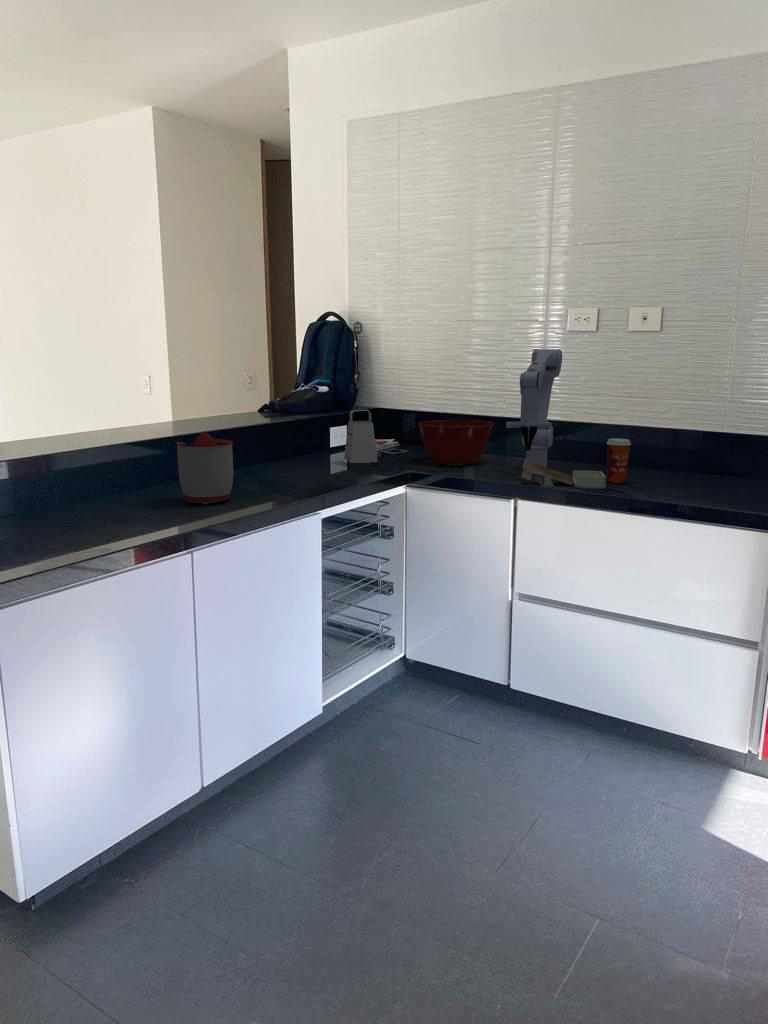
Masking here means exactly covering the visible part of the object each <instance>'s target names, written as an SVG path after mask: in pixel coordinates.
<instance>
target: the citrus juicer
mask: <svg viewBox="0 0 768 1024" xmlns="http://www.w3.org/2000/svg"><path fill="white" fill-rule="evenodd" d="M175 444H176V450H177V466H178V469H177V470H178V478H179V484H180V488H181V491H182V494H183V496H184V499H185V500H188V501H192V502H209V501H219V500H223V499H227V498H230V496H231V492H232V488H233V483H234V459H233V458H234V457H233V444H234V441H233V440H230V439H222V438H213V437H212V436H211V435H210V434H209V433H208V432H207V431H202V432H201V433H200V434H198V436H197V437H196V439H195V440H194V441H193V443H192V445H186V443H185V442H183V441H176V443H175Z"/></svg>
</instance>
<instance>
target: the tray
mask: <svg viewBox="0 0 768 1024" xmlns="http://www.w3.org/2000/svg"><path fill="white" fill-rule="evenodd" d="M593 474H598V475H599V476H592V475H593ZM571 476H572V477H571V478H572V479H574V480H573V482H572V484H573V485H574V487H575V488H576V489H593V490H595V489H597V490H598V489H602V488H603V489H602V490H606V488H607V475H605V474H604V472H603V471H602V470H572V475H571Z"/></svg>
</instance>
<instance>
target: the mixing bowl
mask: <svg viewBox="0 0 768 1024" xmlns="http://www.w3.org/2000/svg"><path fill="white" fill-rule="evenodd" d="M417 425H418V428H419V432H420V436H421V439H422V442H423V445H424V447H425V449H426V451H427V453H428V456H429V457H430V458H431V459H432V460H433V461H434V462H436V463H437V462H438V463H442V464H457V465H459V464H470V465H473V464H474V463H476V461H478V460H480V458H481V456H482V454H483V453H484V451H485V449H486V447H487V445H488V443H489V440H490V436H491V434H492V430H493V426H494V425H495V424H494V422H491V421H484V420H472V419H470V420H469V419H467V420H466V419H440V420H439V419H437V420H436V419H435V420H425V421H419V422H417ZM438 463H437V464H438ZM472 463H473V464H472ZM459 466H460V465H459Z"/></svg>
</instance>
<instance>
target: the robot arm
mask: <svg viewBox="0 0 768 1024" xmlns="http://www.w3.org/2000/svg"><path fill="white" fill-rule="evenodd" d="M562 362H563V351H562V350H561V349H560V348H558V349H539V348H538V349H537V348H535V349H533V350H532V353H531V363H530V364H529V366H528V367H527V369H526V370H525V371H523V372H522V373H520V375H519V388H520V389H519V391H520V393H519V394H520V395H521V396H520V397H521V398H520V399H521V400H520V420H519V421H506V424H505V425H506V427H505V428H506V429H519V430H520V432H521V443H522V445H523V447H524V448H525V449H524V450H525V452H526V453H525V460H527V462H530V463H533V464H536V465H539V466H542V467H545V468H548V467H547V466H548V449H549V448H550V447H552V445H553V441H554V428H553V422H549V421H548V413H549V408H550V404H551V403H550V401H551V397H552V388H553V384H554V380H555V378H557V377H558V376H560V373H561V370H562V364H563V363H562ZM533 475H535V476H536V475H538V476H539V475H540V474H537V473H534V472H533ZM540 476H541V475H540Z"/></svg>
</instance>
